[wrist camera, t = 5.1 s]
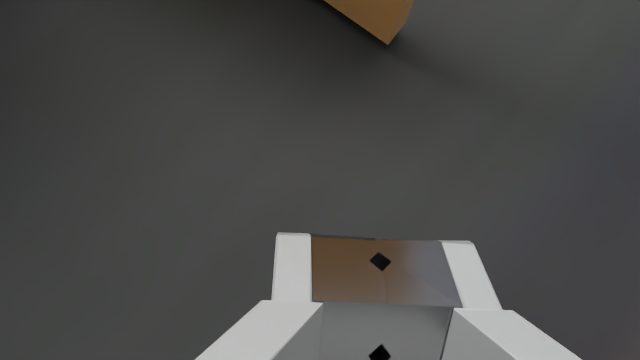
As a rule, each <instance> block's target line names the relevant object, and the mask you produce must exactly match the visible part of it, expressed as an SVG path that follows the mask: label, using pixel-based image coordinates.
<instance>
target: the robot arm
mask: <svg viewBox="0 0 640 360" xmlns="http://www.w3.org/2000/svg"><path fill="white" fill-rule="evenodd" d="M195 360H582V359H580V358H579V357H577V356H576V355H575V354H573V353H572V352H570V351H569V350H568V349H566V348H565V347H563V346H562V345H561V344H559V343H558V342H556V341H555V340H554V339H552V338H551V337H549V336H548V335H547V334H545V333H544V332H542V331H541V330H540V329H538V328H537V327H535V326H534V325H532V324H531V323H530V322H528V321H527V320H525V319H524V318H523V317H521V316H520V315H518V314H517V313H516V312H514V311H513V310H503V309H502V307H501V304H500V302H499V300H498V298H497V295H496V293H495V291H494V289H493V286H492V284H491V282H490V280H489V277H488V275H487V273H486V270H485V268H484V266H483V264H482V261H481V259H480V257H479V255H478V252H477V250H476V248H475V246H474V244H473V243H472V242H470V241H446V240H438V241H423V240H389V239H375V238H364V237H349V236H335V235H320V234H311V236H310V234H307V233H283V232H278V233H277V236H276V246H275V259H274V273H273V286H272V299H271V300H261V301H260V302H259V303H258V304H257V305H256V306H254V307H253V308H252V309H251V310H250V311H249V312H248V313H247V314H245V315H244V316H243V317H242V318H241V319H240V320H239V321H238V322H237V323H235V324H234V325H233V326H232V327H231V328H230V329H229V330H228V331H226V332H225V333H224V334H223V335H222V336H221V337H220V338H219V339H217V340H216V341H215V342H214V343H213V344H212V345H211V346H210V347H208V348H207V349H206V350H205V351H204V352H203V353H202V354H201V355H199V356H198V357H197V358H196V359H195Z"/></svg>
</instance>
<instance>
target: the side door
mask: <svg viewBox="0 0 640 360" xmlns="http://www.w3.org/2000/svg"><path fill="white" fill-rule="evenodd" d="M324 1H326V2H327V3H328V4H330V5H331V6H333V7H334V8H336V9H337V10H338V11H340V12H341V13H343V14H344V15H346V16H347V17H348V18H350V19H351V20H353V21H354V22H356V23H357V24H358V25H360V26H361V27H363V28H364V29H366V30H367V31H368V32H370V33H371V34H373V35H374V36H376V37H377V38H379V39H380V40H381V41H383V42H384V43H386V44H387V45H388V44H389V43H390V42H391V41H392V39H393V38H394V37H395V36H396V34H397V33H398V32H399V31H400V30H401V28H402V27H403V26H404V25H405V23H406V21H407V18H408V16H409V13H410V11H411V8H412V6H413V3H414V1H415V0H324Z"/></svg>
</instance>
